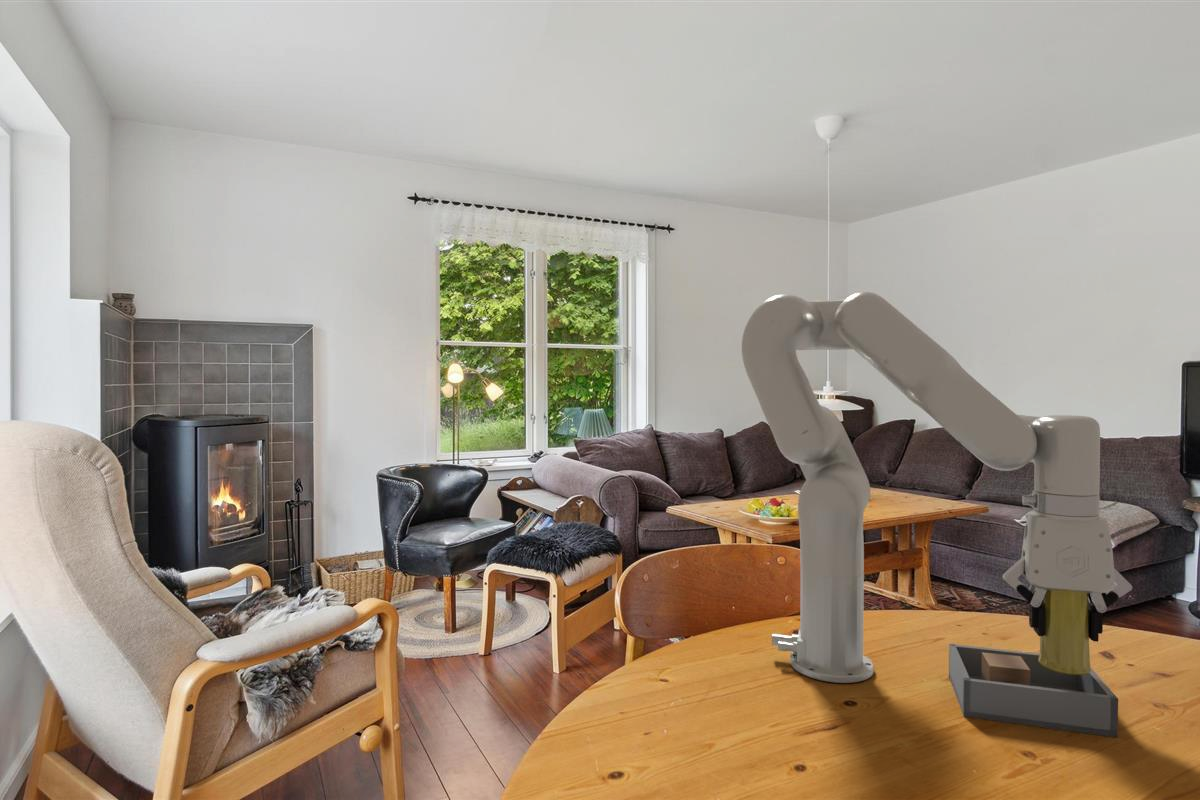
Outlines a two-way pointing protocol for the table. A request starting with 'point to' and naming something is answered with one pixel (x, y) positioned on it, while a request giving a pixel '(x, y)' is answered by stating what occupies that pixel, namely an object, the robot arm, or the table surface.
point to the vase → (1065, 633)
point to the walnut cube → (1005, 669)
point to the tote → (1033, 695)
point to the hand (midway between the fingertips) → (1064, 634)
